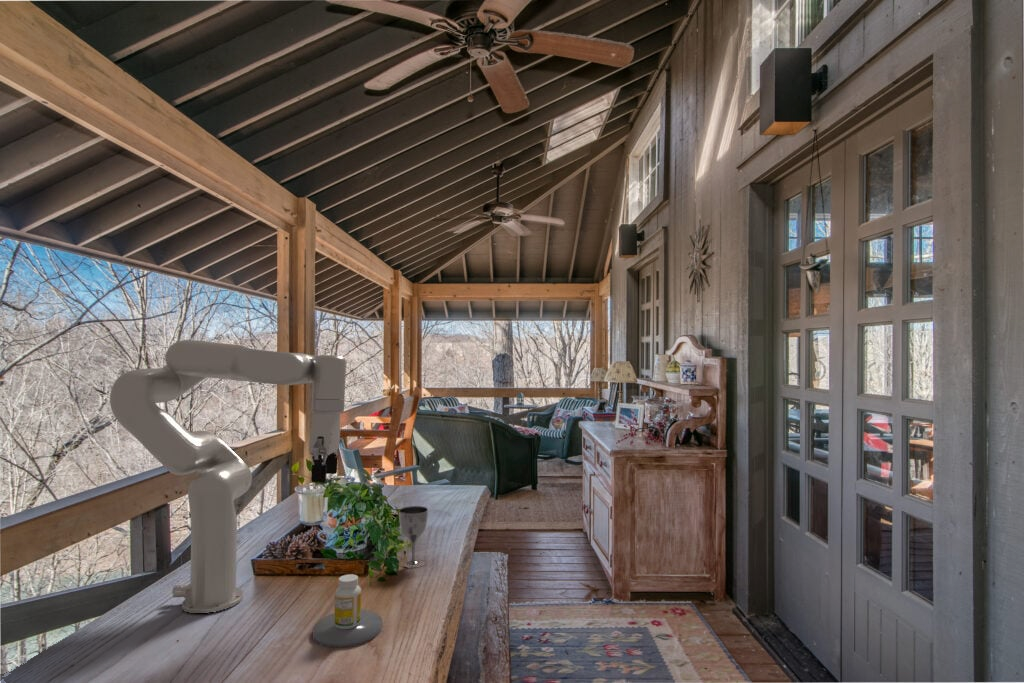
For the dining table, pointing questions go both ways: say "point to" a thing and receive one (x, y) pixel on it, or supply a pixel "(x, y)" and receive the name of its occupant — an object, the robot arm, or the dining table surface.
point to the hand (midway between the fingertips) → (324, 477)
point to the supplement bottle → (347, 602)
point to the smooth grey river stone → (347, 631)
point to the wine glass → (413, 526)
